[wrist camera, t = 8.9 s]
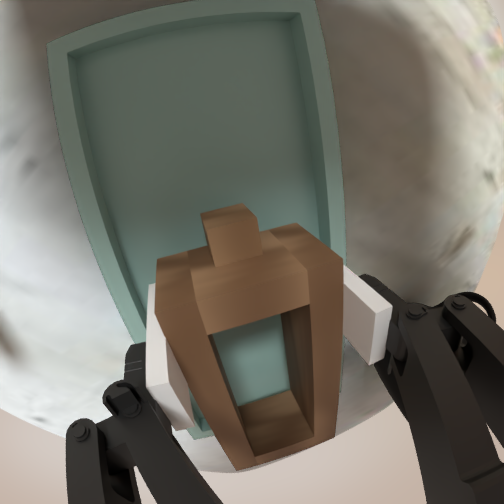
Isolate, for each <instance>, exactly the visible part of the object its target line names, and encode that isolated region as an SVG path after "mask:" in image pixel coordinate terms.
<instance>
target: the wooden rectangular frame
mask: <svg viewBox="0 0 504 504" xmlns="http://www.w3.org/2000/svg"><path fill="white" fill-rule="evenodd" d="M200 216H201V220H202V224H203V228H204V233H205V237H206V241H207V246H203V247H199V248H195V249H192V250H188V251H184V252H181V253H177V254H173V255H169V256H166V257H162V258H158V259H157V264H156V282H155V307H154V313H155V316H156V318H157V321H158V323H159V325H160V328H161V330H162V332H163V334H164V337H166V339H167V341H168V344H169V346H170V348H171V350H172V352H173V354H174V357H175V359H176V361H177V363H178V365H179V367H180V369H181V371H182V373H183V375H184V377H185V379H186V381H187V383H188V387H189V389H190V391H191V393H192V395H193V397H194V399H195V401H196V402H197V404H198V406H199V408H200V410H201V412H202V414H203V415H204V417H205V419H206V421H207V423H208V424H209V426H210V428H211V430H212V431H213V433H214V435H215V437H216V438H217V440H218V442H219V443H220V445H221V447H222V448H223V450H224V452H225V453H226V455H227V456H228V458H229V460H230V461H231V463H232V464H233V466H234V468H235V469H236V471H238V470H242V469H245V468H249V467H253V466H256V465H260V464H263V463H266V462H270V461H273V460H276V459H279V458H282V457H285V456H288V455H291V454H294V453H296V452H299V451H302V450H305V449H307V448H310V447H312V446H315V445H317V444H320V443H322V442H325V441H327V440H329V439H332V438H334V437H335V429H336V420H337V410H338V400H339V389H340V375H341V360H342V340H343V291H344V286H343V283H344V271H343V258H342V257H340V256H339V255H338V254H337V253H335V252H334V251H333V250H331V249H330V248H329V247H328V246H326V245H325V244H324V243H322V242H321V241H320V240H319V239H317V238H316V237H315V236H313V235H312V234H311V233H310V232H308V231H307V230H306V229H304V228H303V227H302V226H300V225H299V224H298V223H292V224H288V225H284V226H280V227H276V228H272V229H268V230H264V231H260V232H259V226H258V220H257V217H256V216H255V215H254V214H253V213H252V212H251V211H250V210H249V209H248V208H247V207H246V206H245V205H244V204H243V203H240V204H236V205H232V206H228V207H223V208H219V209H215V210H211V211H207V212H203V213H200ZM277 314H280V315H281V322H282V330H283V337H284V344H285V352H286V359H287V367H288V375H289V383H290V390H288V391H285V392H283V393H280V394H277V395H274V396H271V397H267V398H264V399H261V400H258V401H255V402H251V403H248V404H245V405H241V406H237V403H236V400H235V398H234V395H233V392H232V389H231V387H230V384H229V381H228V378H227V376H226V373H225V370H224V367H223V364H222V361H221V358H220V355H219V353H218V350H217V347H216V344H215V341H214V338H213V335H212V334H213V333H217V332H220V331H224V330H227V329H231V328H234V327H238V326H241V325H245V324H248V323H251V322H255V321H258V320H261V319H264V318H268V317H271V316H274V315H277Z"/></svg>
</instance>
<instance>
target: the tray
mask: <svg viewBox="0 0 504 504" xmlns="http://www.w3.org/2000/svg"><path fill="white" fill-rule="evenodd" d="M46 45H47V58H48V69H49V78H50V86H51V93H52V100H53V106H54V112H55V118H56V123H57V128H58V133H59V138H60V143H61V147H62V152H63V156H64V160H65V164H66V168H67V172H68V175H69V179H70V183H71V186H72V190H73V193H74V197H75V200H76V203H77V206H78V209H79V213H80V216H81V219H82V222H83V225H84V228H85V230H86V233H87V236H88V239H89V242H90V244H91V247H92V250H93V252H94V255H95V257H96V260H97V263H98V265H99V268H100V270H101V272H102V275H103V277H104V280H105V282H106V284H107V287H108V289H109V291H110V293H111V296H112V298H113V300H114V302H115V305H116V307H117V309H118V311H119V313H120V315H121V317H122V319H123V321H124V323H125V325H126V327H127V329H128V331H129V333H130V335H131V337H132V339H133V341H134V343H135V344H137V343H141V342H146V328H147V306H148V289H149V285H150V284H154V283H155V282H156V264H157V259H158V258H162V257H166V256H169V255H173V254H177V253H181V252H184V251H188V250H192V249H195V248H199V247H203V246H207V241H206V237H205V233H204V228H203V224H202V220H201V216H200V213H203V212H207V211H211V210H215V209H219V208H223V207H228V206H232V205H236V204H240V203H243V204H244V205H245V206H246V207H247V208H248V209H249V210H250V211H251V212H252V213H253V214H254V215H255V216H256V217H257V220H258V226H259V232H260V231H264V230H268V229H272V228H276V227H280V226H284V225H288V224H292V223H298V224H299V225H300V226H302V227H303V228H304V229H306V230H307V231H308V232H310V233H311V234H312V235H313V236H315V237H316V238H317V239H319V240H320V241H321V242H322V243H324V244H325V245H326V246H328V247H329V248H330V249H331V250H333V251H334V252H335V253H337V254H338V255H339V256H340V257H342V258H343V264H344V265H345V266H346V229H345V206H344V189H343V176H342V163H341V153H340V143H339V133H338V125H337V117H336V109H335V102H334V95H333V88H332V82H331V76H330V70H329V64H328V59H327V53H326V48H325V43H324V38H323V33H322V28H321V24H320V19H319V15H318V11H317V7H316V3H315V0H194V1H187V2H181V3H175V4H169V5H164V6H159V7H154V8H149V9H145V10H141V11H137V12H133V13H129V14H125V15H122V16H118V17H115V18H112V19H108V20H105V21H102V22H99V23H96V24H93V25H91V26H88V27H85V28H82V29H80V30H77V31H75V32H72V33H70V34H67V35H65V36H62V37H60V38H58V39H55V40H53V41H51V42H49V43H47V44H46ZM212 335H213V338H214V341H215V344H216V347H217V350H218V353H219V355H220V358H221V361H222V364H223V367H224V370H225V373H226V376H227V378H228V381H229V384H230V387H231V389H232V392H233V395H234V398H235V400H236V403H237V406H241V405H245V404H248V403H251V402H255V401H258V400H261V399H264V398H267V397H271V396H274V395H277V394H280V393H283V392H285V391H288V390H290V383H289V375H288V367H287V359H286V352H285V344H284V337H283V330H282V322H281V315H280V314H277V315H274V316H271V317H268V318H264V319H261V320H258V321H255V322H251V323H248V324H245V325H241V326H238V327H234V328H231V329H227V330H224V331H220V332H217V333H213V334H212ZM344 341H345V336H344V335H343V340H342V360H341V375H340V389H339V393H340V392H341V383H342V371H343V357H344ZM188 389H189V387H188ZM189 395H190V401H191V406H192V412H193V417H194V423H195V427H192V428H187V431H188V432H189V433H190V435H191V436H192V438H193V439H194V440H196V439H201V438H205V437H209V436H213V435H214V433H213V431H212V430H211V428H210V426H209V424H208V423H207V421H206V419H205V417H204V415H203V414H202V412H201V410H200V408H199V406H198V404H197V402H196V401H195V399H194V397H193V395H192V393H191V391H190V389H189Z"/></svg>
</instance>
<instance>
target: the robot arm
mask: <svg viewBox="0 0 504 504" xmlns="http://www.w3.org/2000/svg"><path fill="white" fill-rule="evenodd" d="M343 271H344V283H343V286H344V291H343V335H344V336H345V337H346V339H347V340H348V341H349V342H350V343H351V345H352V346H353V347H354V348H355V349H356V351H357V352H358V353H359V354H360V355H361V357H362V358H363V359H364V360H365V361H366V363H367V364H368V365H371V364H373V363H375V362H377V361H379V360H381V359H383V358H384V356H385V350H386V348H387V350H388V351H389V352H390V353H391V357H390V362H389V366H388V374H390V373H391V369H392V368H393V371H394V375H395V378H396V381H397V384H398V387H399V390H400V394H401V397H402V400H403V404H404V407H405V411H406V414H407V418H408V421H409V425H410V429H411V433H412V436H413V440H414V444H415V448H416V453H417V457H418V461H419V466H420V470H421V475H422V480H423V485H424V490H425V495H426V501H427V504H504V463H502V462H501V461H500V459H499V457H498V454H497V451H496V449H495V446H494V443H493V440H492V437H491V435H490V432H489V430H488V427H487V425H488V426H489V428H490V429H491V430H492V432H493V433H494V435H495V436H496V438H497V439H498V441H499V442H500V443H501V445H502V447H503V448H504V330H503V329H502V328H500V327H499V326H498V325H497V324H496V323H495V322H494V321H493V320H492V319H491V318H490V317H489V316H487V315H486V314H485V313H484V312H483V311H482V310H481V309H479V308H478V307H477V306H476V305H475V304H474V303H473V302H472V301H470V300H469V299H468V298H466V297H465V296H462V295H455V294H454V295H450V296H448V297H447V298H446V299H445V301H444V305H443V307H439V308H434V309H428V308H427V307H425V306H423V305H421V304H417V303H409V304H407V303H406V302H405V301H404V300H402V299H401V298H400V297H399V296H398V295H396V294H395V293H394V292H393V291H391V290H390V289H388V287H386V286H385V285H384V284H382V283H381V282H380V281H379V280H378V279H376V278H375V277H372V276H370V275H367V274H364V275H361V276H357V275H356V274H354V273H353V272H352V271H351V270H350V269H348V268H347V267H346V266H345V265H344V264H343ZM154 307H155V283H154V284H150V285H149V289H148V306H147V328H146V342H141V343H137V344H133V345H131V346H130V347H129V349H128V351H127V353H126V357H125V369H124V371H125V373H124V380H120V381H116V382H114V383H113V384H111V385H110V386H109V387H108V388H107V389H106V390H105V392H104V394H103V397H102V398H103V404H104V405H105V406H106V408H107V409H108V410H109V411H110V412H111V414H112V415H113V416H111V417H109V418H108V419H105V420H103V421H101V422H99V423H97V424H95V423H94V422H93V421H92V420H90V419H87V418H84V419H79V420H76V421H75V422H73V423H72V424H71V425H70V426H69V428H68V430H67V433H66V478H67V494H68V504H141V499H140V495H139V491H138V487H137V482H136V477H135V472H134V466H137V467H138V469H139V472H140V473H141V475H142V477H143V479H144V481H145V483H146V485H147V487H148V488H149V490H150V492H151V494H152V495H153V497H154V499H155V500H156V502H157V504H223V503H222V501H221V500H220V499H219V498H218V496H217V495H216V494H215V493H214V491H213V490H212V489H211V488H210V486H209V485H208V484H207V482H206V481H205V480H204V479H203V477H202V476H201V475H200V473H199V472H198V470H197V469H196V467H195V466H194V465H193V463H192V462H191V460H190V459H189V458H188V456H187V455H186V453H185V452H184V450H183V449H182V447H181V446H180V444H179V443H178V441H177V440H176V438H175V437H174V436H173V434H172V427H171V425H172V426H173V428H174V429H175V430H176V431H178V430H183V429H187V428H192V427H195V423H194V417H193V412H192V406H191V401H190V395H189V389H188V383H187V381H186V379H185V377H184V375H183V373H182V371H181V369H180V367H179V365H178V363H177V361H176V359H175V357H174V354H173V352H172V350H171V348H170V346H169V344H168V341H167V339H166V337H164V334H163V332H162V330H161V328H160V325H159V323H158V321H157V318H156V316H155V313H154ZM463 337H464V338H465V339H466V341H467V344H466V345H464V344H463V343H462V342H461V341H462V339H463ZM486 423H487V424H486Z"/></svg>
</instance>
